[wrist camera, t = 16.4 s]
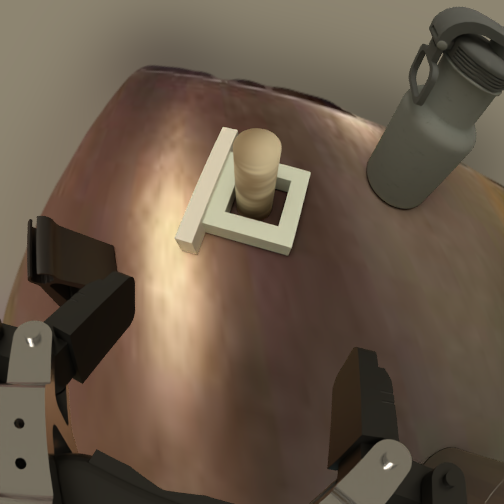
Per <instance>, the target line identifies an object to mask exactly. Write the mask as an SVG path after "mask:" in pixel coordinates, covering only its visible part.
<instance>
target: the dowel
mask: <svg viewBox="0 0 504 504" xmlns="http://www.w3.org/2000/svg"><path fill="white" fill-rule="evenodd" d="M280 155H281V143H280V140H279V139H278V137H277V136H276V135H275V134H273V133H272V132H270V131H268V130H265V129H259V128H254V129H248V130H245V131H243V132H241V133H240V134H239V135H238V136H237V137H236V138H235V140H234V142H233V159H234V176H235V191H236V207H237V211H238V213H239V215H240V216H242V217H246V218H250V219H253V220H257V221H262V220H264V219H265V218H267V217H268V216H269V214H270V213H271V210H272V205H273V198H274V192H275V186H276V180H277V174H278V167H279V161H280Z"/></svg>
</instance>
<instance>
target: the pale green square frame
mask: <svg viewBox="0 0 504 504" xmlns="http://www.w3.org/2000/svg"><path fill="white" fill-rule="evenodd" d="M310 173H311V172H308V171H305V170H301V169H298V168H294V167H290V166H287V165H283V164H279V167H278V174H277V180H276V186H275V189H278V190H282V191H286V192H288V194H287V198H286V202H285V205H284V209H283V212H282V216H281V219H280V223H279V226H275V225H271V224H268V223H264V222H261V221H257V220H253V219H250V218H246V217H242V216H239V215H235V214H231V213H230V210H231V207H232V205H233V202H234V199H235V196H236V191H235V176H234V159H233V152H230V155H229V157H228V160H227V162H226V164H225V167H224V169H223V172H222V174H221V176H220V179H219V181H218V184H217V186H216V189H215V191H214V194H213V196H212V199H211V201H210V204H209V206H208V209H207V212H206V214H205V217H204V219H203V222H202V224H203V227H204V230H205V232H206V233H209V234H213V235H216V236H220V237H224V238H227V239H231V240H234V241H238V242H241V243H245V244H248V245H252V246H255V247H259V248H262V249H266V250H269V251H273V252H277V253H280V254H284V255H287V256H288V255H289V253H290V250H291V248H292V244H293V240H294V237H295V233H296V229H297V225H298V221H299V217H300V213H301V209H302V206H303V202H304V198H305V194H306V190H307V185H308V181H309V177H310Z"/></svg>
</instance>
